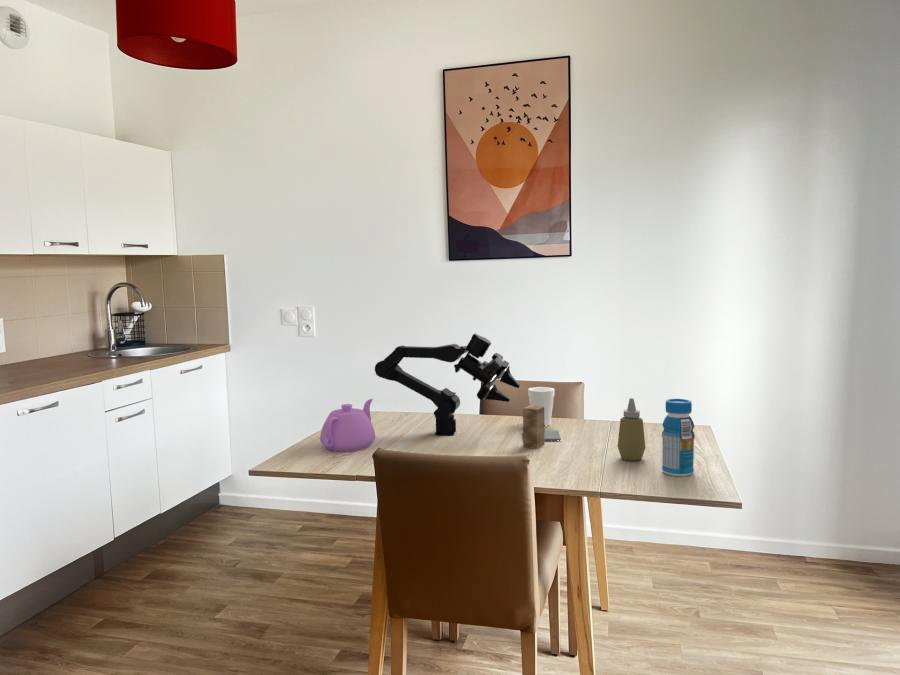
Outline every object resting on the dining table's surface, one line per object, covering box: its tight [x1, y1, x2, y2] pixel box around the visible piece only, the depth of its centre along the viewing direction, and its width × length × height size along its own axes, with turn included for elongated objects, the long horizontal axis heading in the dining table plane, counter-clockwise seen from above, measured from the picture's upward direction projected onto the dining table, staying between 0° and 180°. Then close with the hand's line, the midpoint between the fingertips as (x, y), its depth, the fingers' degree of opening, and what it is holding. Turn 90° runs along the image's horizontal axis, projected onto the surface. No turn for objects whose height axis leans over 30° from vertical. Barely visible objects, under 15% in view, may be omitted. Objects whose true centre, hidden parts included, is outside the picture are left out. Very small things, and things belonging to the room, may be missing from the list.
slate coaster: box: [544, 429, 562, 442], centre depth 232 cm, size 12×12×1 cm
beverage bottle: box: [661, 398, 696, 477], centre depth 188 cm, size 8×8×20 cm
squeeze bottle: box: [617, 397, 646, 462], centre depth 203 cm, size 8×8×18 cm
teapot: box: [319, 398, 376, 452], centre depth 226 cm, size 25×18×14 cm
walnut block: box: [522, 404, 545, 449], centre depth 220 cm, size 5×5×12 cm
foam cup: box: [527, 386, 556, 425], centre depth 250 cm, size 10×9×13 cm
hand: (514, 393), depth 233 cm, fingers open, 9 cm apart
